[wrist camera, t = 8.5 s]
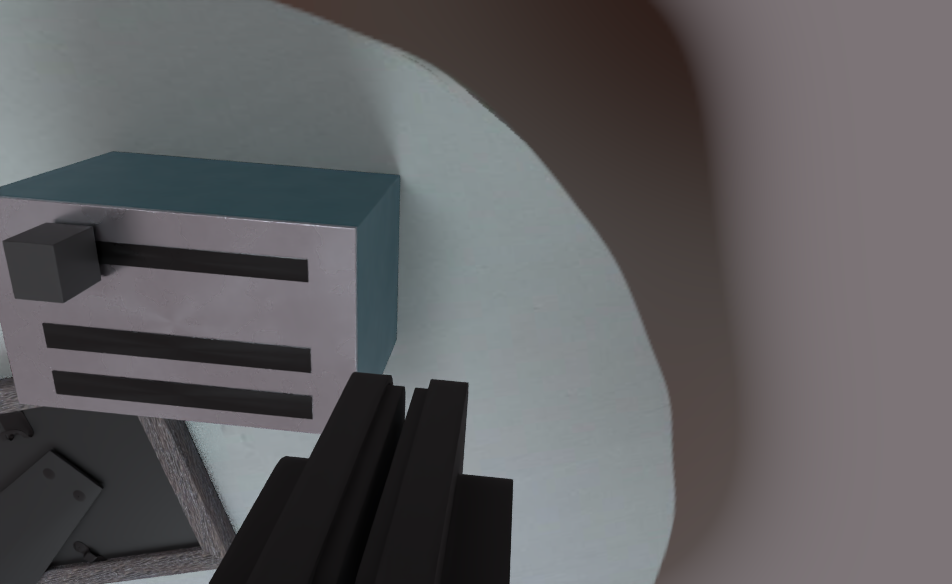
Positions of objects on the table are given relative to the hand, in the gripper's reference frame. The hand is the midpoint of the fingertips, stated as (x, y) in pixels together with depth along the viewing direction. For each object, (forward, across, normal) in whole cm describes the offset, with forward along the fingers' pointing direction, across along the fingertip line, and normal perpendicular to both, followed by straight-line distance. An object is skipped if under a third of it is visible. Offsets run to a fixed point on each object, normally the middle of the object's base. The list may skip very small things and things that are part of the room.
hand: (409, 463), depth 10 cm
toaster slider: (+17, +17, +4) cm, 24 cm away
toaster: (+27, +13, +7) cm, 31 cm away
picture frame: (+27, +28, +25) cm, 46 cm away
